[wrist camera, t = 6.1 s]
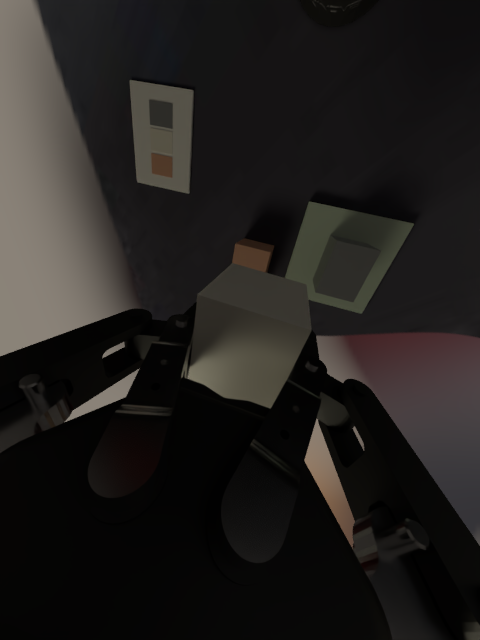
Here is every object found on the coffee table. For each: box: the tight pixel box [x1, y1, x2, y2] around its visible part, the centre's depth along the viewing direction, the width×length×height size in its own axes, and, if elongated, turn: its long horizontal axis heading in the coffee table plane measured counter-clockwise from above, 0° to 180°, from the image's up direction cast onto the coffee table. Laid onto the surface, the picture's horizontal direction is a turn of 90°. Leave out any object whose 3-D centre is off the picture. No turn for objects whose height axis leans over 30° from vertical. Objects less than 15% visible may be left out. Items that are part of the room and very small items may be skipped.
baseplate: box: [285, 201, 414, 314], centre depth 25 cm, size 12×12×6 cm
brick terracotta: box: [232, 238, 274, 273], centre depth 28 cm, size 6×4×5 cm
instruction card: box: [130, 80, 194, 194], centre depth 26 cm, size 10×8×1 cm
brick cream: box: [189, 263, 312, 409], centre depth 11 cm, size 6×4×5 cm
